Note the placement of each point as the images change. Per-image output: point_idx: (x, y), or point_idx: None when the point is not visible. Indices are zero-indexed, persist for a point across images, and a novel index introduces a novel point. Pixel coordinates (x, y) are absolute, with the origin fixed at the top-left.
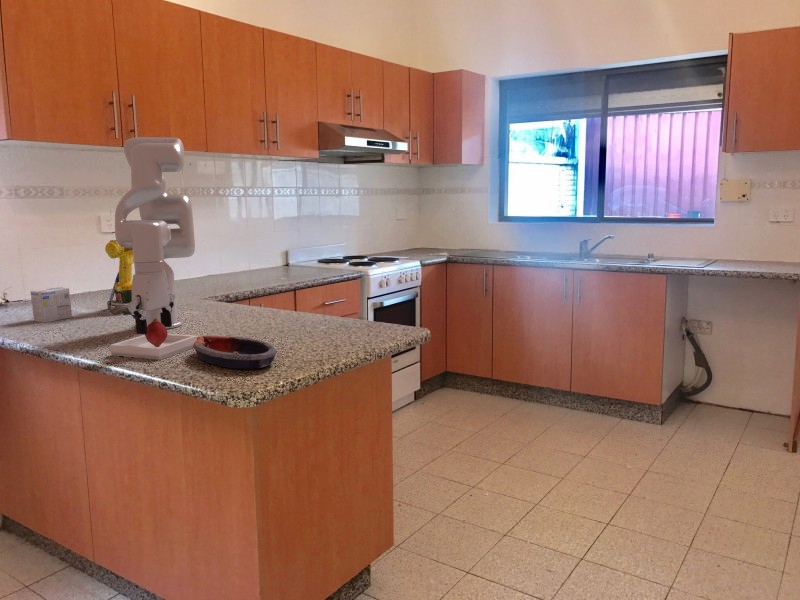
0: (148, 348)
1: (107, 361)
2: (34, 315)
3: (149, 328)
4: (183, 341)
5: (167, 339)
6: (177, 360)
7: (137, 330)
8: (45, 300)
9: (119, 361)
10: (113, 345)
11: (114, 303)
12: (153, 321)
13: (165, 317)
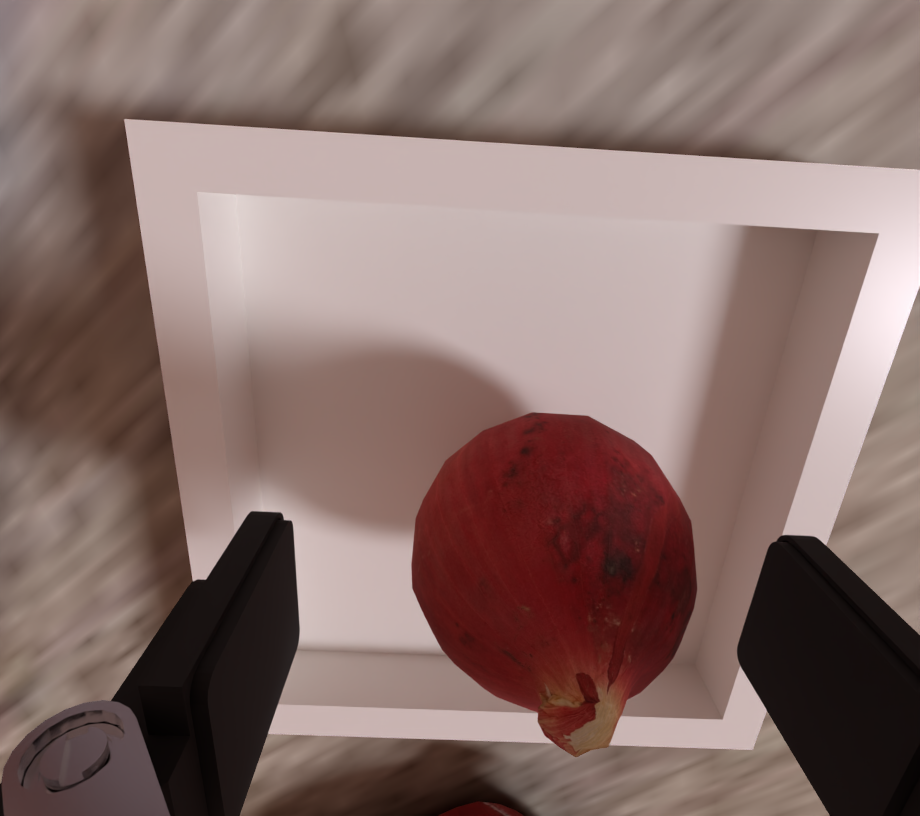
0: None
1: (16, 269)
2: None
3: (440, 602)
4: (541, 735)
5: (772, 438)
6: (287, 746)
7: (197, 589)
8: None
9: (75, 384)
10: (134, 179)
11: None
12: (548, 681)
13: (832, 728)
